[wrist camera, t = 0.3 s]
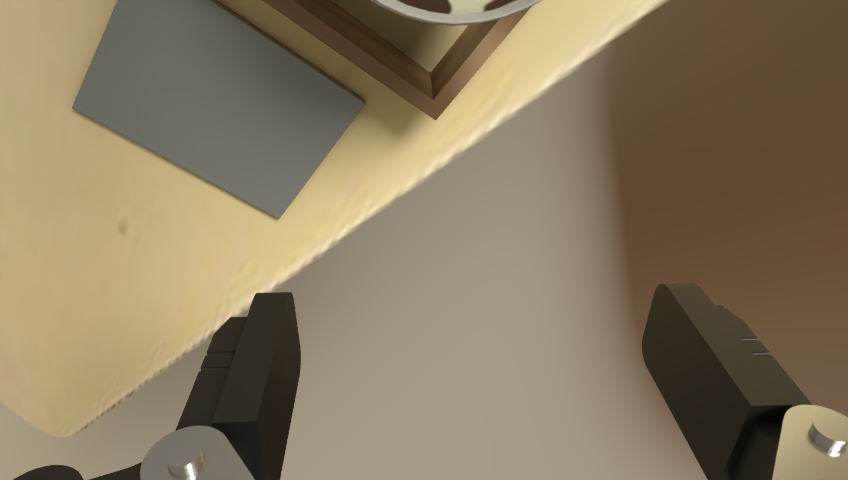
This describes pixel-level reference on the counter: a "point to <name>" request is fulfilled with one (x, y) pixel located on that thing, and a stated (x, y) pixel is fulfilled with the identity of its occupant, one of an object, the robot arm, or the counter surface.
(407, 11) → the food container
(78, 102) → the rubber mat
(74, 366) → the counter surface
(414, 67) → the frame
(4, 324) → the counter surface
